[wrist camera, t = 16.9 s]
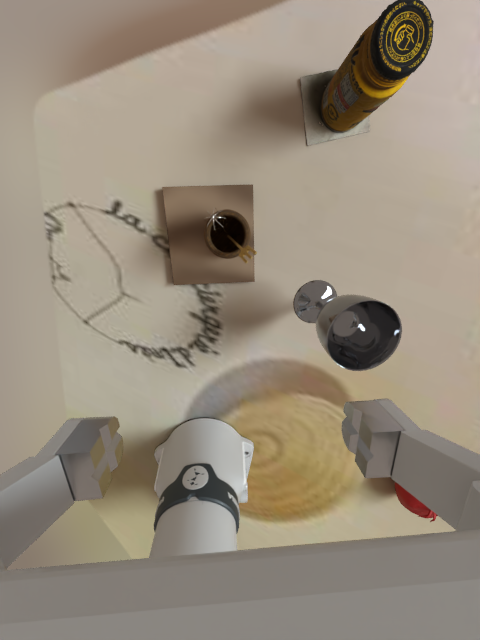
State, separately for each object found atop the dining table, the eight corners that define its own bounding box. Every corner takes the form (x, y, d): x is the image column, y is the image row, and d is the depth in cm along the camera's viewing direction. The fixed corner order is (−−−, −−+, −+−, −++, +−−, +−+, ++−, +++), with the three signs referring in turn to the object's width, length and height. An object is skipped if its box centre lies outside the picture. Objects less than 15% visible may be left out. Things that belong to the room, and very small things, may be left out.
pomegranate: (381, 489, 55) (410, 537, 46) (396, 453, 52) (431, 498, 43) (422, 492, 56) (459, 540, 47) (440, 457, 53) (483, 501, 44)
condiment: (369, 131, 33) (443, 77, 22) (306, 146, 34) (348, 99, 22) (366, 63, 31) (447, -37, 20) (299, 79, 31) (342, -12, 20)
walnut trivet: (253, 280, 39) (254, 281, 38) (175, 283, 38) (173, 284, 37) (251, 186, 35) (252, 184, 33) (164, 188, 34) (162, 187, 33)
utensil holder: (226, 202, 34) (226, 184, 23) (258, 236, 36) (273, 236, 24) (196, 235, 35) (183, 233, 24) (229, 266, 37) (231, 280, 25)
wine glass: (283, 317, 41) (314, 359, 27) (303, 270, 39) (348, 289, 24) (327, 331, 42) (378, 379, 28) (348, 287, 40) (416, 314, 26)
